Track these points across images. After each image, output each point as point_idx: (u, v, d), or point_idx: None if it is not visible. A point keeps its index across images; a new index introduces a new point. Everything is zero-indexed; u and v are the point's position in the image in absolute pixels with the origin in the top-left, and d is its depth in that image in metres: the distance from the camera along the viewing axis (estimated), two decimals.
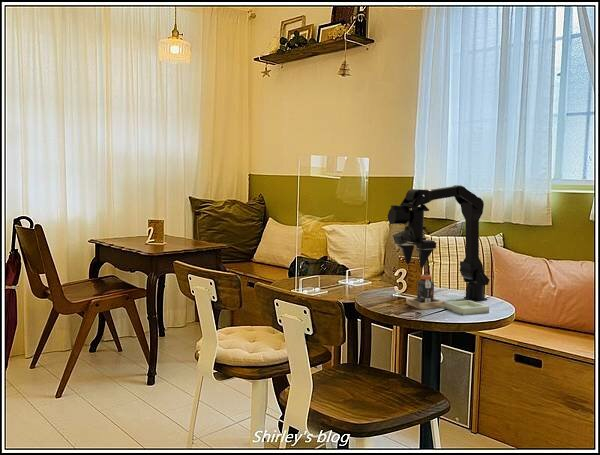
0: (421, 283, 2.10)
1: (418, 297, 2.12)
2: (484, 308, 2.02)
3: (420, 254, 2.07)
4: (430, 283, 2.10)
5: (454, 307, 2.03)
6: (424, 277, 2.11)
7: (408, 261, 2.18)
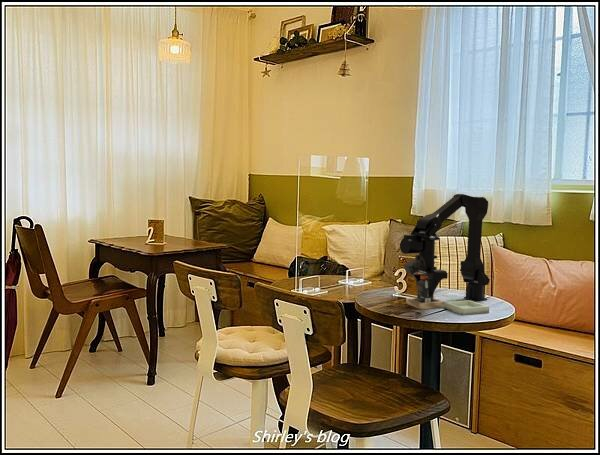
0: (421, 283, 2.10)
1: (418, 297, 2.12)
2: (484, 308, 2.02)
3: (429, 283, 2.08)
4: None
5: (454, 307, 2.03)
6: (424, 277, 2.11)
7: None
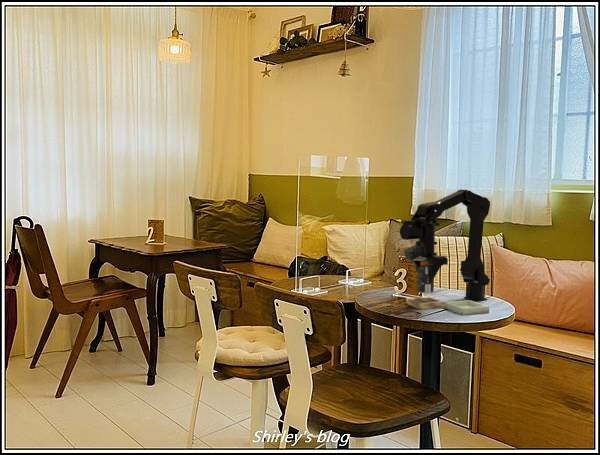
0: (422, 269, 2.10)
1: (418, 283, 2.12)
2: (484, 308, 2.02)
3: (429, 269, 2.07)
4: None
5: (454, 307, 2.03)
6: (424, 263, 2.10)
7: None
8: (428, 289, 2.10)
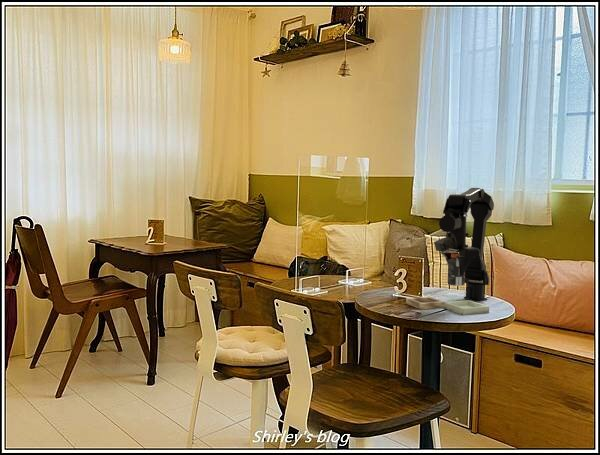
0: (452, 261, 2.04)
1: (449, 276, 2.06)
2: (484, 308, 2.02)
3: (460, 261, 2.02)
4: None
5: (454, 307, 2.03)
6: (455, 255, 2.05)
7: None
8: (459, 282, 2.04)
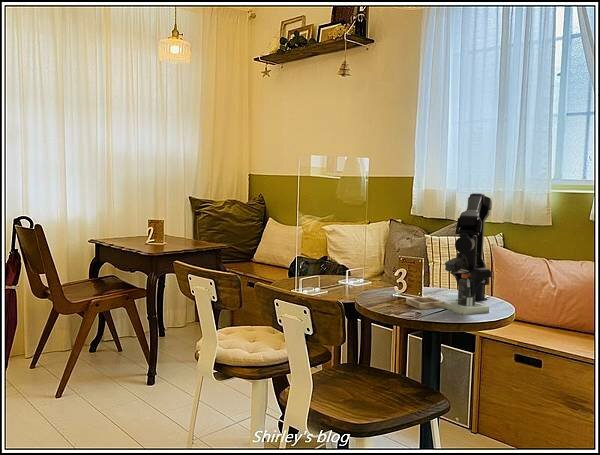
0: (463, 282, 2.03)
1: (459, 296, 2.05)
2: (484, 308, 2.02)
3: (471, 282, 2.01)
4: None
5: (454, 307, 2.03)
6: (466, 276, 2.03)
7: None
8: (470, 303, 2.03)
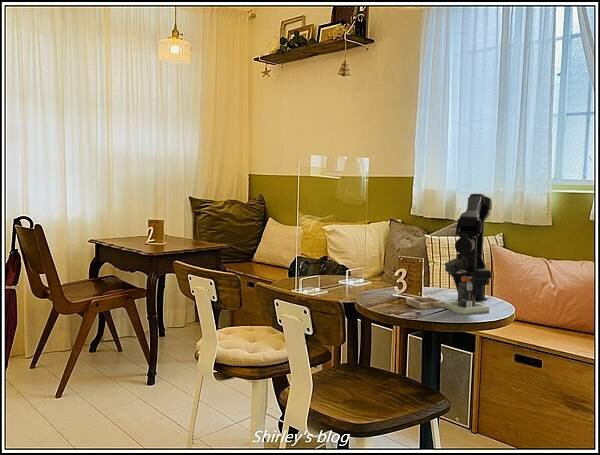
0: (463, 285, 2.03)
1: (459, 300, 2.05)
2: (484, 308, 2.02)
3: (474, 283, 2.00)
4: None
5: (454, 307, 2.03)
6: (465, 279, 2.04)
7: None
8: (469, 306, 2.03)
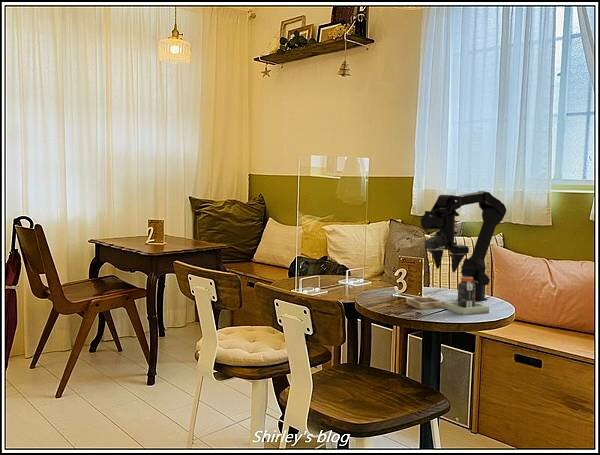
0: (463, 285, 2.03)
1: (459, 300, 2.05)
2: (484, 308, 2.02)
3: (453, 259, 2.10)
4: (472, 285, 2.03)
5: (454, 307, 2.03)
6: (465, 279, 2.04)
7: (438, 266, 2.20)
8: (469, 306, 2.03)
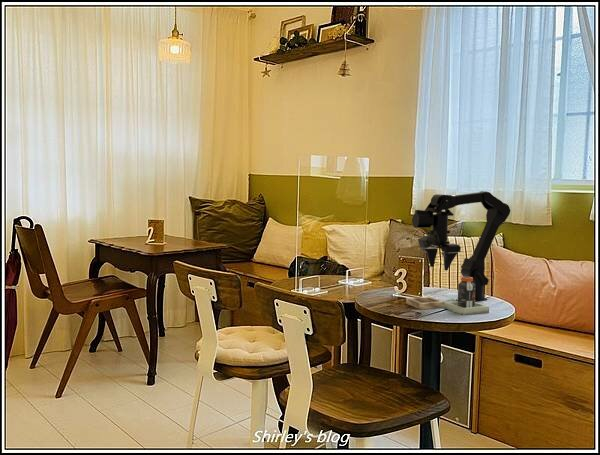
0: (463, 285, 2.03)
1: (459, 300, 2.05)
2: (484, 308, 2.02)
3: (445, 257, 2.14)
4: (472, 285, 2.03)
5: (454, 307, 2.03)
6: (465, 279, 2.04)
7: (432, 264, 2.24)
8: (469, 306, 2.03)
